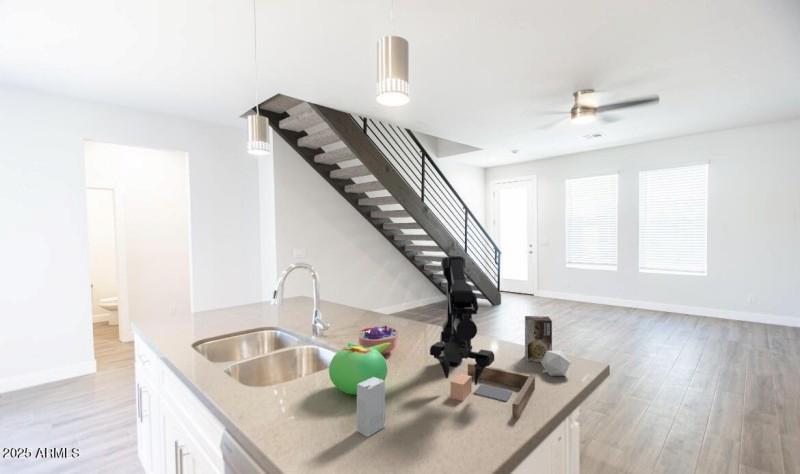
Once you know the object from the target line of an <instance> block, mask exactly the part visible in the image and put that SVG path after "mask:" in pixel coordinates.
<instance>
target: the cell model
mask: <svg viewBox="0 0 800 474" xmlns="http://www.w3.org/2000/svg"><path fill="white" fill-rule="evenodd" d="M357 335H358V346H367V347H373V346H376V345H380V344H384V343H391V345H390V346H389V347H387V348H386V349H385V350H383V351H382V352H381V353H380V354H381V355H382V356H383V355H385V354H388V353H391V352H392V351H394V350H395V348H397V345H398V339H399V330H397V329H396V328H394V327H390V326H387V325H382V326H373V327H367V328H362V329H359V330H358V331H357Z"/></svg>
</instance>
